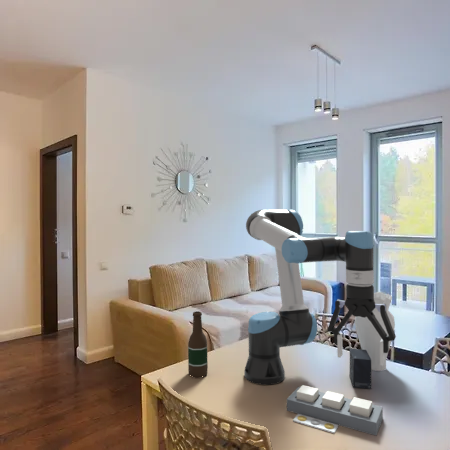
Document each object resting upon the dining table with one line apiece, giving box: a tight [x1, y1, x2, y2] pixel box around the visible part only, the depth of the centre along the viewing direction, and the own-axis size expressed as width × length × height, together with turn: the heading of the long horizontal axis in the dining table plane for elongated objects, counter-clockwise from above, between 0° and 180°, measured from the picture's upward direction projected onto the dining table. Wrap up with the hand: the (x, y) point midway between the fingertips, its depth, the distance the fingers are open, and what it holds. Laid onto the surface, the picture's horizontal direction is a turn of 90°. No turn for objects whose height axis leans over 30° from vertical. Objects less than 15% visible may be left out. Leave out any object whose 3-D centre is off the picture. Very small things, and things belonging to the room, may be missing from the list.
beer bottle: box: [187, 310, 209, 378], centre depth 141 cm, size 8×8×24 cm
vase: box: [354, 291, 396, 372], centre depth 145 cm, size 15×15×29 cm
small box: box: [349, 348, 372, 390], centre depth 132 cm, size 11×6×10 cm, turn 168°
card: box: [292, 413, 339, 434], centre depth 105 cm, size 12×4×1 cm, turn 58°
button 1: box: [297, 384, 320, 403], centre depth 114 cm, size 5×5×2 cm
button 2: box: [322, 390, 345, 410], centre depth 110 cm, size 5×5×2 cm
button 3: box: [350, 396, 373, 417], centre depth 106 cm, size 5×5×2 cm
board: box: [286, 386, 384, 436], centre depth 110 cm, size 26×10×4 cm, turn 58°
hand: (360, 359), depth 106 cm, fingers open, 11 cm apart
